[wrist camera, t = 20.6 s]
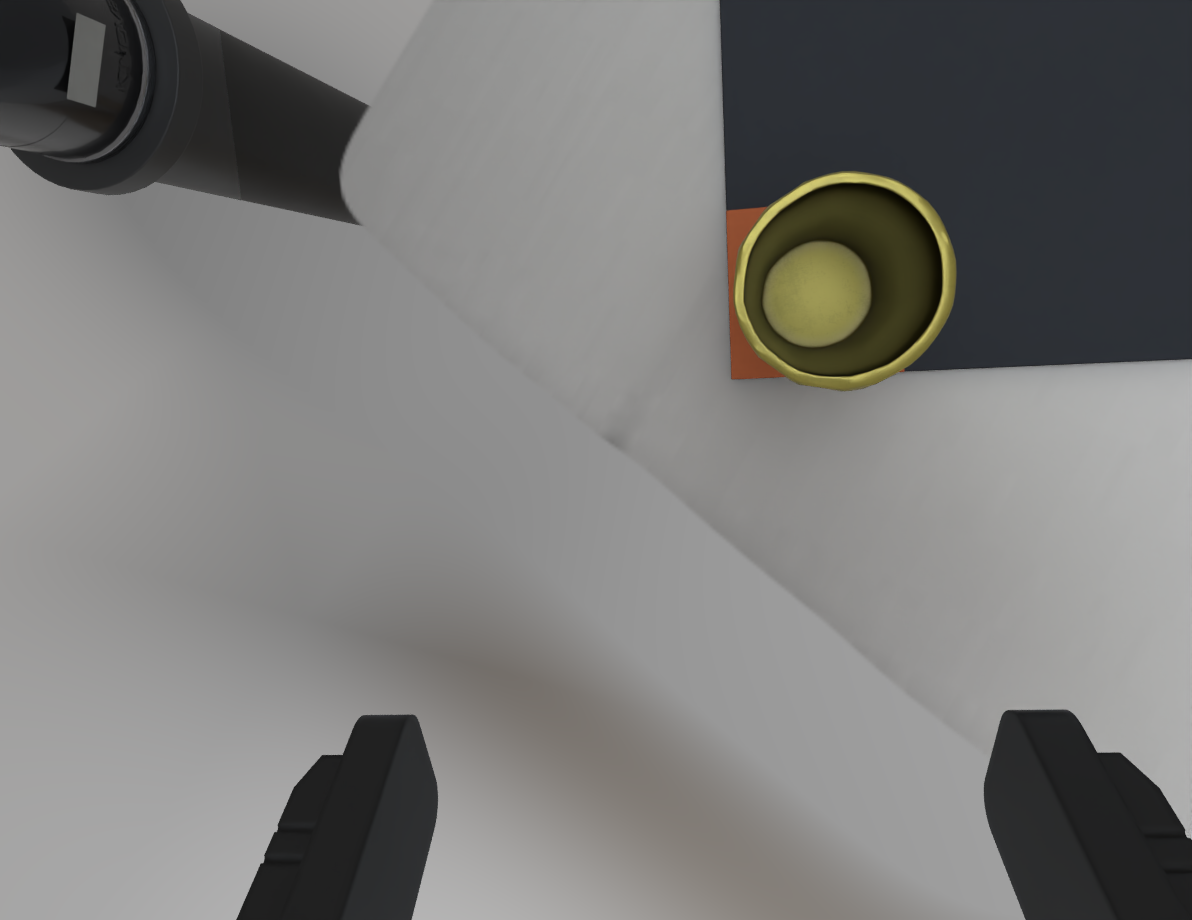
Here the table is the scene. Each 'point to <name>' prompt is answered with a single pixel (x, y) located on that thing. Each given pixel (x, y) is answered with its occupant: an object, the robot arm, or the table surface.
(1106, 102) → the mat
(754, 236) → the vase
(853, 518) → the table surface
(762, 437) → the table surface
